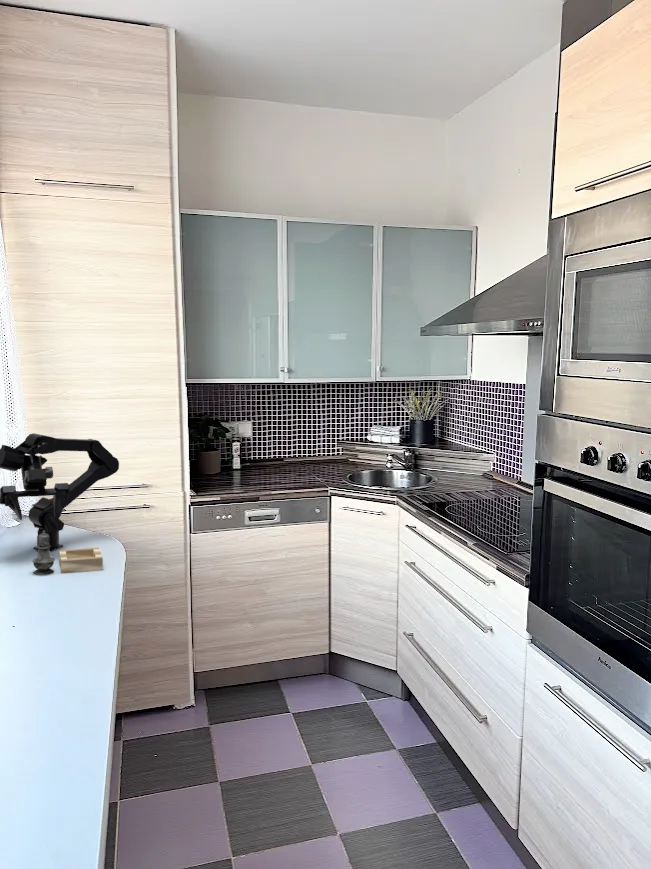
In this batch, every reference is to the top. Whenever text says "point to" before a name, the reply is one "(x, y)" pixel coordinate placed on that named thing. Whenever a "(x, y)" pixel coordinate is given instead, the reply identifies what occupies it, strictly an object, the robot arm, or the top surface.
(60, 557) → the shaker caddy
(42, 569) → the weathered stone finial
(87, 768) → the top surface
